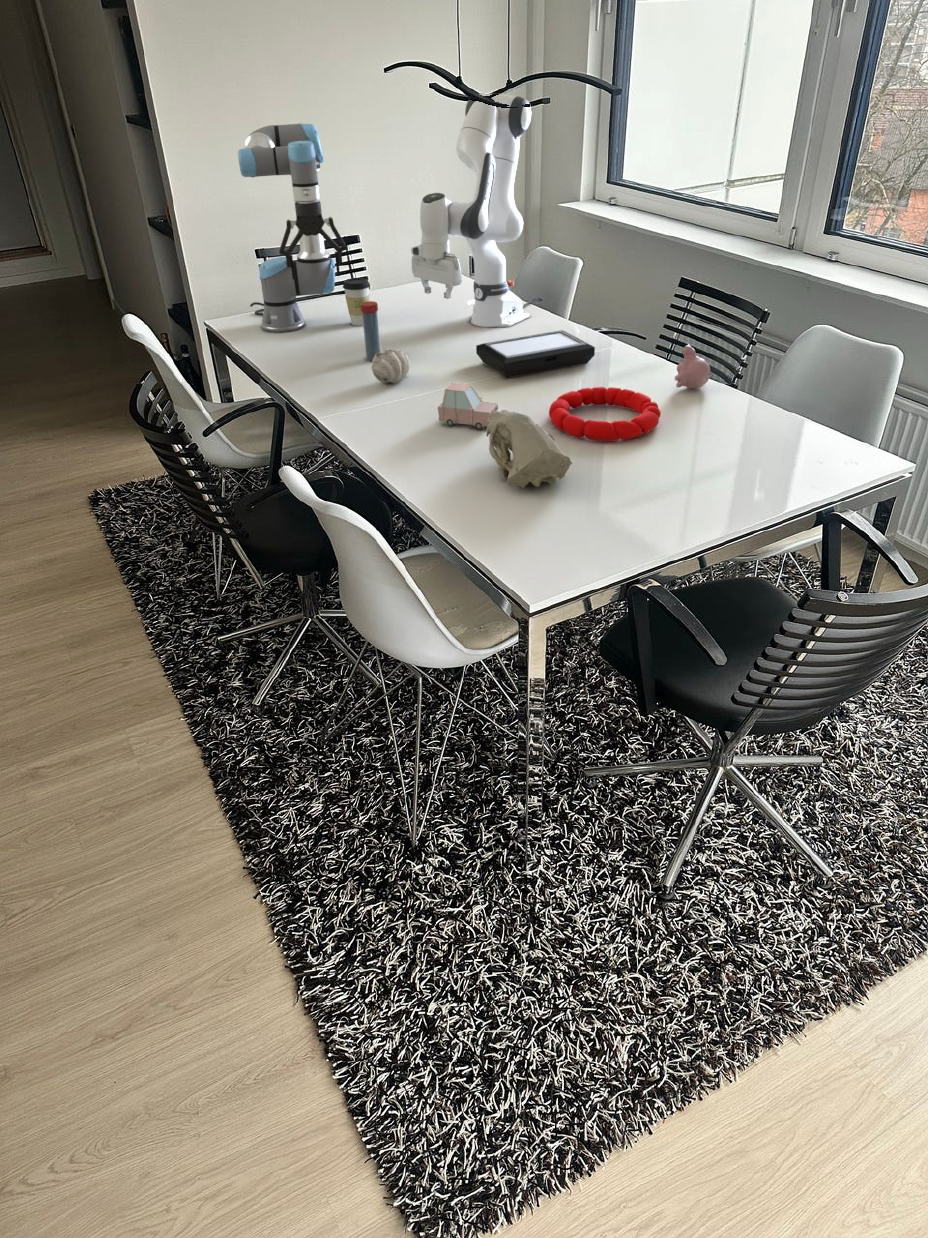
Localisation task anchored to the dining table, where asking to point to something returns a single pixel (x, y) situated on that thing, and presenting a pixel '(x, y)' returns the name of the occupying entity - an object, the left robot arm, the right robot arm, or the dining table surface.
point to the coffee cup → (356, 297)
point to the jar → (371, 335)
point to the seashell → (390, 366)
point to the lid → (369, 307)
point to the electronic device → (535, 353)
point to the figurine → (692, 370)
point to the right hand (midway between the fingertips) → (437, 295)
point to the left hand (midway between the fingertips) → (316, 276)
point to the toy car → (465, 406)
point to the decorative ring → (604, 428)
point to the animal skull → (525, 450)
